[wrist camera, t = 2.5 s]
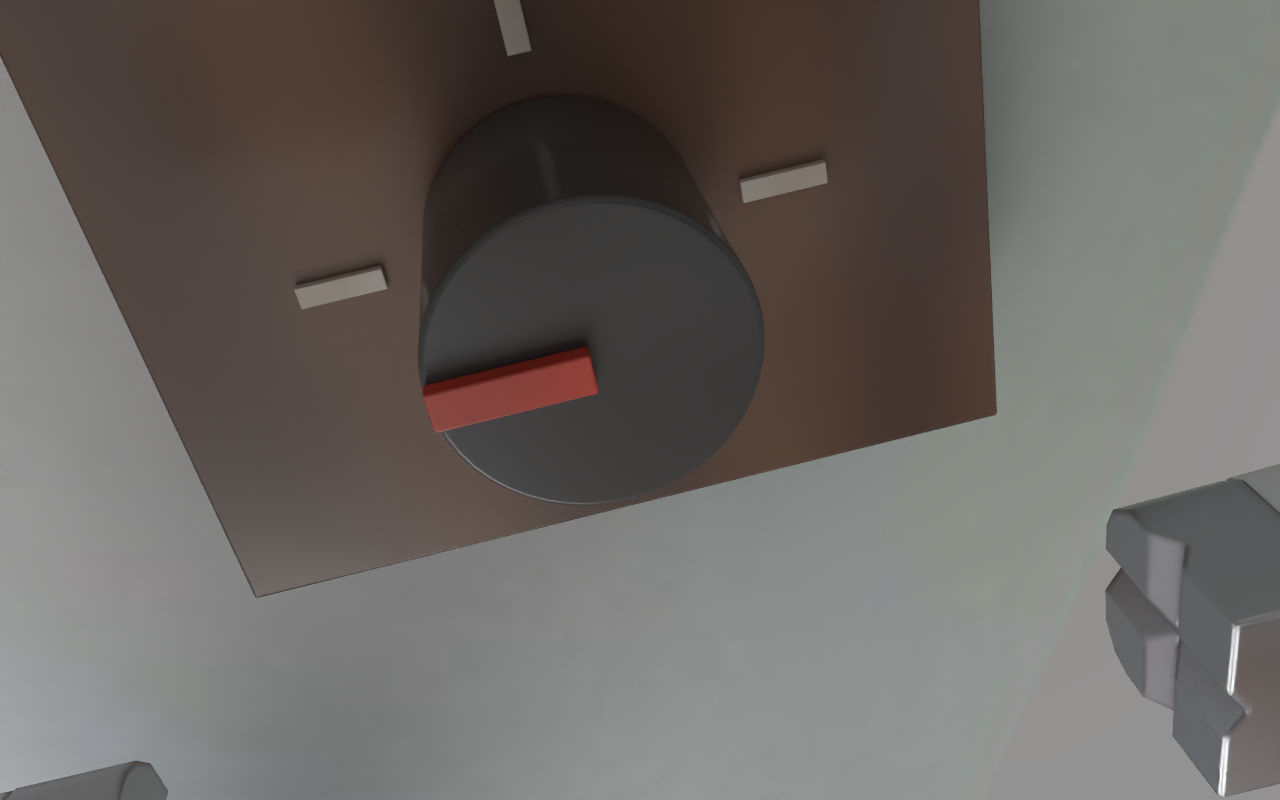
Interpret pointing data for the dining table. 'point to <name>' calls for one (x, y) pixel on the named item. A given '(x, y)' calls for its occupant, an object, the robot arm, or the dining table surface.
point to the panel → (395, 203)
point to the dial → (580, 307)
